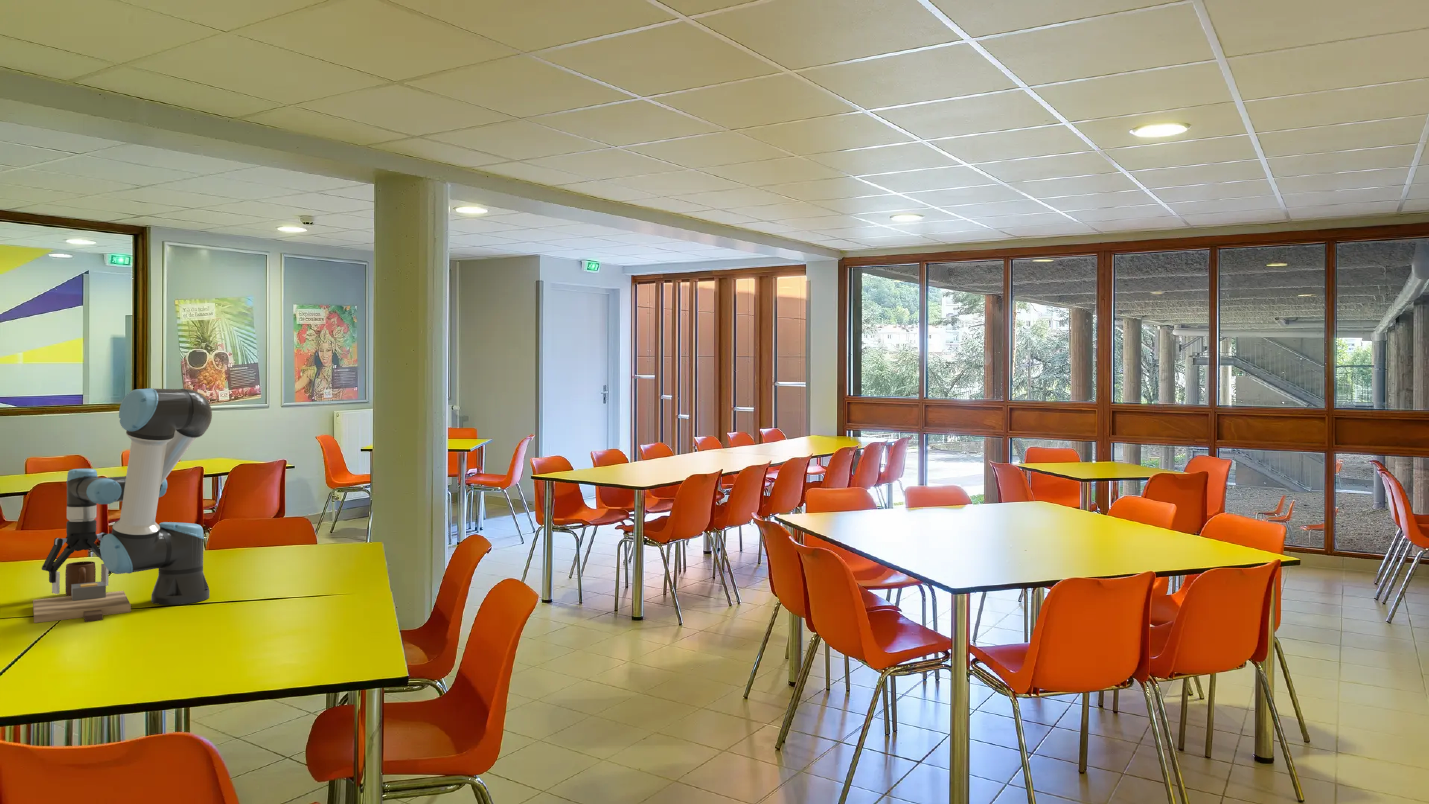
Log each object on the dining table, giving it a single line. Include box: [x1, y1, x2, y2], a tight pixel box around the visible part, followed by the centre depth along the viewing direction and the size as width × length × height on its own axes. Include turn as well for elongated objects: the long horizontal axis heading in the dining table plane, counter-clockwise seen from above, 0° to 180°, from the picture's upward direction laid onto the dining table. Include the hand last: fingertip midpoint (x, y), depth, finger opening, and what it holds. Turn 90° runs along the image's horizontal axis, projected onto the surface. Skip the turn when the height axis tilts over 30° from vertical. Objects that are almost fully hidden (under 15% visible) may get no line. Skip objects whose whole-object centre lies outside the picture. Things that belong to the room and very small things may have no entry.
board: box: [32, 590, 132, 624], centre depth 260 cm, size 28×22×2 cm
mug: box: [64, 560, 97, 596], centre depth 280 cm, size 12×8×9 cm, turn 38°
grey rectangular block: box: [71, 581, 107, 601], centre depth 269 cm, size 7×8×4 cm
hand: (80, 589), depth 280 cm, fingers open, 13 cm apart
